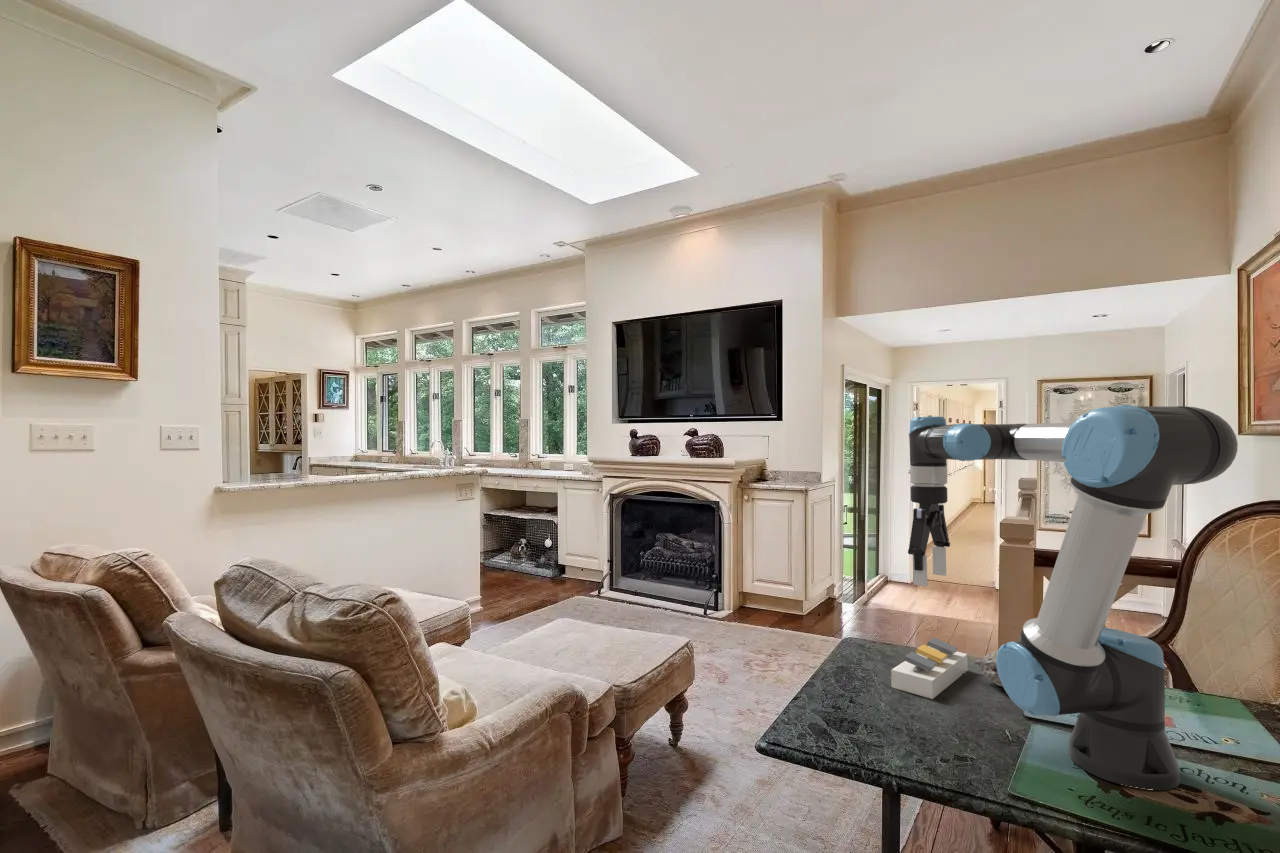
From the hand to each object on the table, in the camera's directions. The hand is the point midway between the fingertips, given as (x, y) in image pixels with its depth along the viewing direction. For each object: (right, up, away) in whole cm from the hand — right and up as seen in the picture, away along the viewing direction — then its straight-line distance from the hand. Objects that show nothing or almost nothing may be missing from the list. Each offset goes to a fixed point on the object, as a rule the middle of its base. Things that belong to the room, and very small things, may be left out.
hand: (930, 580), depth 138 cm
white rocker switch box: (+5, -25, +9) cm, 28 cm away
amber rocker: (+4, -20, +8) cm, 22 cm away
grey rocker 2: (+9, -21, +13) cm, 26 cm away
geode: (+21, -25, +1) cm, 33 cm away
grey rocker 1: (-1, -20, +3) cm, 21 cm away
